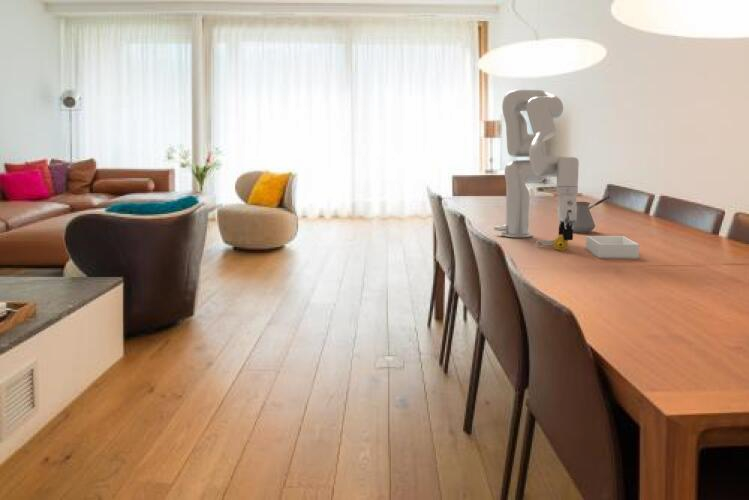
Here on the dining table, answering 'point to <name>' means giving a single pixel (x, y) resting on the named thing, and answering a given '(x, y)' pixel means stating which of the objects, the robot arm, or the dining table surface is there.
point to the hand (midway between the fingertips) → (565, 238)
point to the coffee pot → (585, 217)
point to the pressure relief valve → (555, 243)
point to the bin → (612, 247)
